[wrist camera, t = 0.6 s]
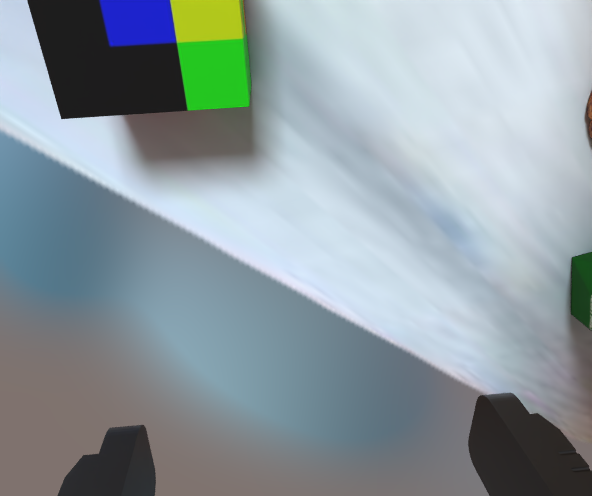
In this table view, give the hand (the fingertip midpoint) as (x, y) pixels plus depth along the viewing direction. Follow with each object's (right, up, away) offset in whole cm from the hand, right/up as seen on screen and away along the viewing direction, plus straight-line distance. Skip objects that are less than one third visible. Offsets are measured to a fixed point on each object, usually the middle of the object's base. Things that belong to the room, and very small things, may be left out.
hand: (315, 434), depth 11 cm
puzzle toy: (-9, +21, +20) cm, 30 cm away
